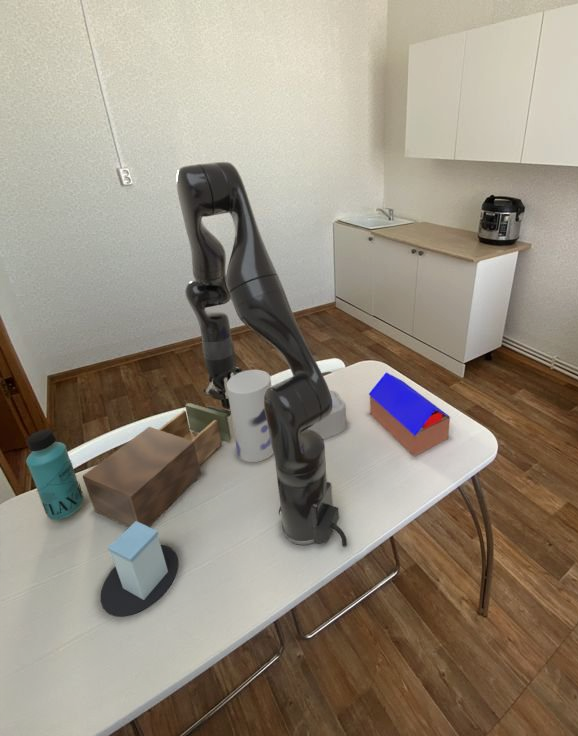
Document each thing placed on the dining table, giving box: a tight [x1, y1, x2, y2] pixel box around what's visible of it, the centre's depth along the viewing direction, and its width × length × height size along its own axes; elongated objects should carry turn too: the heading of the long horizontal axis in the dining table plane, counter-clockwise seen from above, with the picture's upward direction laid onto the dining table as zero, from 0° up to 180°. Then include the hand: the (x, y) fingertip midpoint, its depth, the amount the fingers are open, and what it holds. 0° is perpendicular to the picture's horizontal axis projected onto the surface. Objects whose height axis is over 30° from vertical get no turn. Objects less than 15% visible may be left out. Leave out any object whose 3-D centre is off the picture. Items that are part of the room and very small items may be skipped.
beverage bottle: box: [25, 428, 84, 521], centre depth 77 cm, size 6×7×20 cm
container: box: [227, 369, 274, 463], centre depth 93 cm, size 10×10×20 cm
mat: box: [100, 543, 179, 618], centre depth 67 cm, size 12×12×1 cm
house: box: [368, 372, 451, 457], centre depth 102 cm, size 12×20×12 cm, turn 32°
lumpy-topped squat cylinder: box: [308, 390, 347, 440], centre depth 103 cm, size 10×13×9 cm
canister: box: [107, 521, 168, 600], centre depth 65 cm, size 5×5×10 cm
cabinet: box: [82, 426, 202, 529], centre depth 83 cm, size 16×14×10 cm
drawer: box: [157, 402, 232, 466], centre depth 95 cm, size 19×13×8 cm
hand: (228, 407), depth 106 cm, fingers closed
